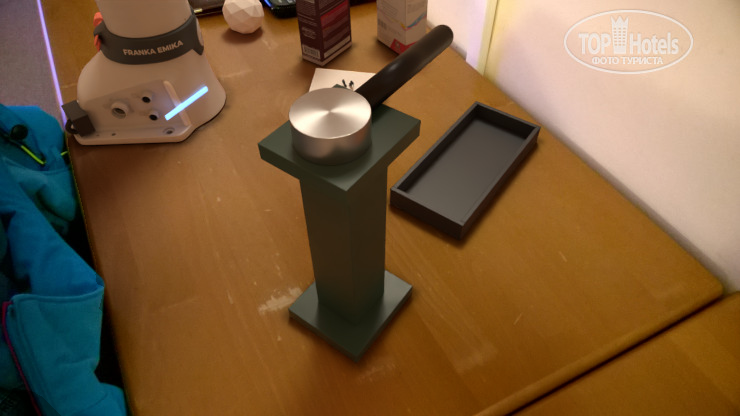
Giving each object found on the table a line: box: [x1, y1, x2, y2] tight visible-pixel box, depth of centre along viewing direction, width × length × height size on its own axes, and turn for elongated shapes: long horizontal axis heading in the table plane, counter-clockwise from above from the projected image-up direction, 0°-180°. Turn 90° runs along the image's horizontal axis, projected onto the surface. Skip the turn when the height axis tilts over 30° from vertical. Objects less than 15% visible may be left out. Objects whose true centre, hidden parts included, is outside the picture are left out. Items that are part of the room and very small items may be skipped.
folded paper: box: [308, 67, 377, 92], centre depth 78 cm, size 12×12×2 cm
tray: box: [389, 100, 542, 241], centre depth 67 cm, size 22×10×3 cm, turn 144°
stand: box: [257, 84, 422, 364], centre depth 45 cm, size 10×9×24 cm
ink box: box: [376, 0, 429, 56], centre depth 85 cm, size 9×5×12 cm, turn 33°
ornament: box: [221, 0, 265, 35], centre depth 90 cm, size 7×7×8 cm
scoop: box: [288, 24, 455, 166], centre depth 38 cm, size 19×6×2 cm, turn 144°
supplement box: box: [294, 0, 353, 67], centre depth 82 cm, size 9×5×16 cm, turn 144°
